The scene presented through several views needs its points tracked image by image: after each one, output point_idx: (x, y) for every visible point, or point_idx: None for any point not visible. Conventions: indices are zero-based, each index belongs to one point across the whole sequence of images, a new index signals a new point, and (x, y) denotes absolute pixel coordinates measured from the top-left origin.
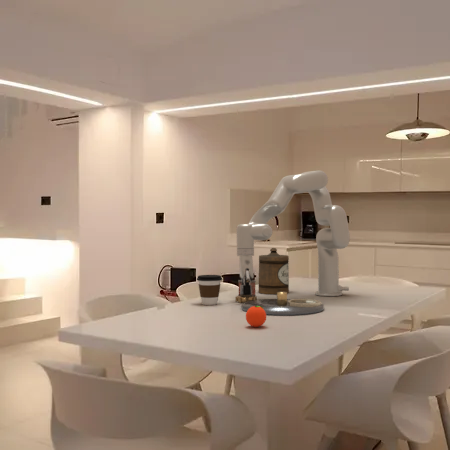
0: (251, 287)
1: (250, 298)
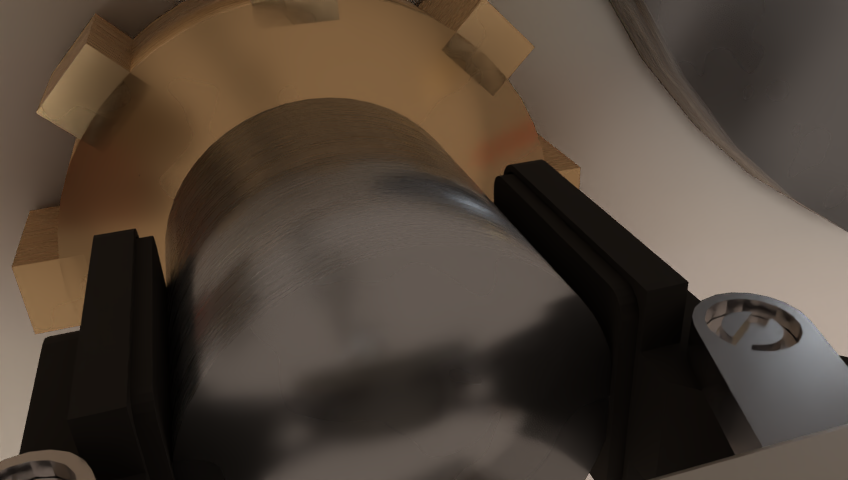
0: (456, 213)
1: (527, 126)
